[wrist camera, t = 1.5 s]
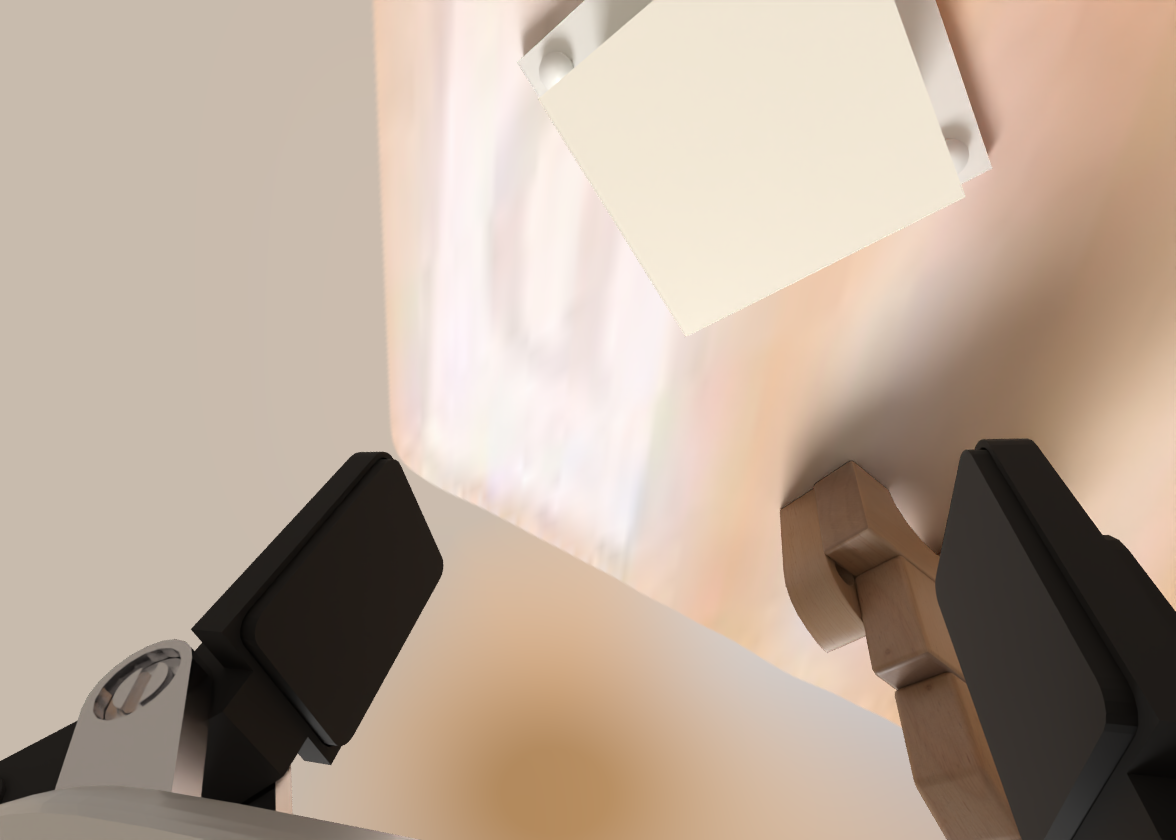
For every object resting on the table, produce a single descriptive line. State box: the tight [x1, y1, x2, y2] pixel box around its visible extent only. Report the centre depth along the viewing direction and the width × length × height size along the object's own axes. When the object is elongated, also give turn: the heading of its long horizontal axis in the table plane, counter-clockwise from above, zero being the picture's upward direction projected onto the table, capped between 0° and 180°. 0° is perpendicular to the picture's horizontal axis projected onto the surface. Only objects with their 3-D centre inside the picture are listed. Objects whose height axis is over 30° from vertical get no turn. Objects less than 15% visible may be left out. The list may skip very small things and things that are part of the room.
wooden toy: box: [780, 461, 1022, 840], centre depth 30 cm, size 16×7×25 cm, turn 54°
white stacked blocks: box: [517, 0, 992, 337], centre depth 23 cm, size 16×16×11 cm
